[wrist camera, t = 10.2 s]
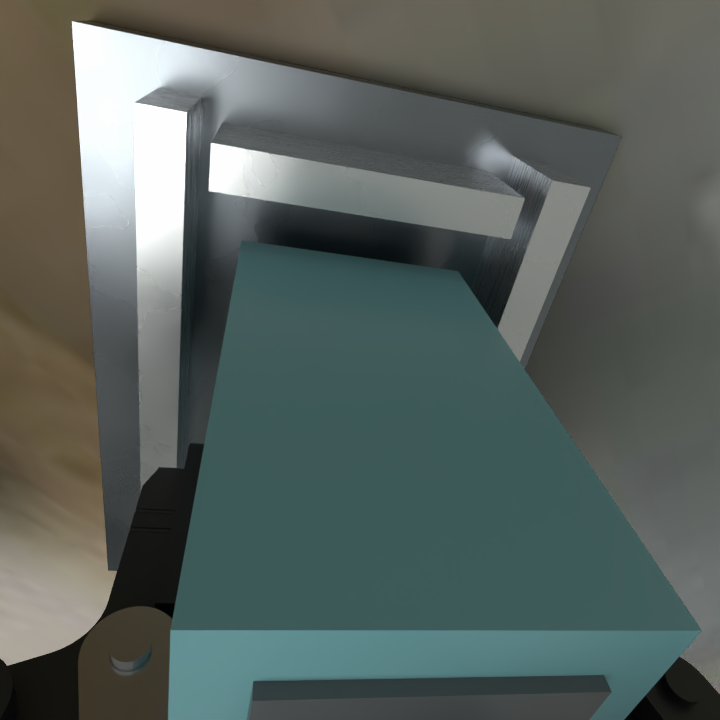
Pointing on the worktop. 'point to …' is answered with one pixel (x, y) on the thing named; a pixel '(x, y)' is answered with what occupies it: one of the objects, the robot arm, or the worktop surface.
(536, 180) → the collar
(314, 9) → the worktop surface
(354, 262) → the duct sleeve
